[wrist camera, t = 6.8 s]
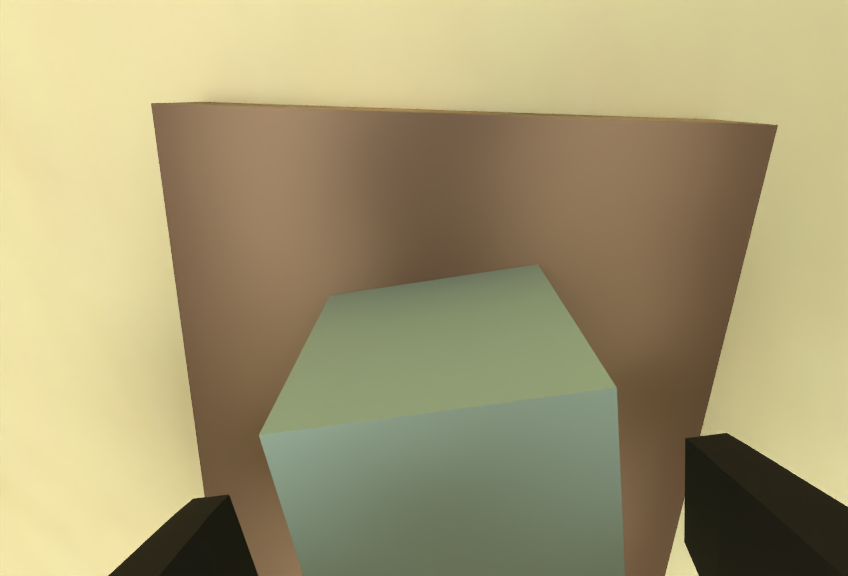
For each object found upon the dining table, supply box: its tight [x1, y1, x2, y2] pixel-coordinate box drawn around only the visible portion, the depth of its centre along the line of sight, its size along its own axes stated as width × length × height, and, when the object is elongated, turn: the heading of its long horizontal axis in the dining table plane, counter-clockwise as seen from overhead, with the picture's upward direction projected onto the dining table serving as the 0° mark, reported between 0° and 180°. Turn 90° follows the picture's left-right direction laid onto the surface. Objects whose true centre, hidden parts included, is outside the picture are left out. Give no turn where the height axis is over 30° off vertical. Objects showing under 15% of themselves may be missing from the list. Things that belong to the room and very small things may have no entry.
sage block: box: [259, 264, 625, 576], centre depth 10 cm, size 4×4×5 cm
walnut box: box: [151, 102, 778, 576], centre depth 14 cm, size 12×12×3 cm
